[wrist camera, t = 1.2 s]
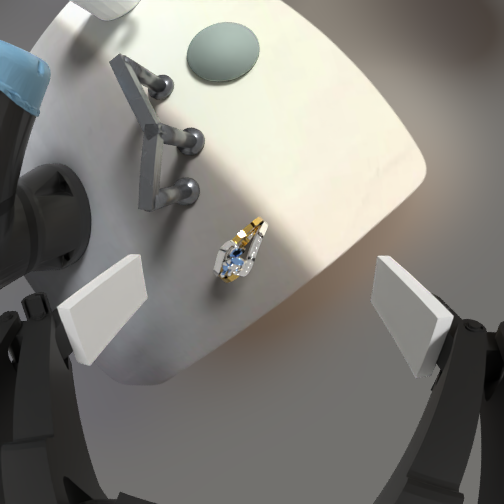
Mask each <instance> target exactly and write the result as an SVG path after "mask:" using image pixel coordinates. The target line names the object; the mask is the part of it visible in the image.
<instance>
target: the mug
mask: <svg viewBox="0 0 504 504" xmlns="http://www.w3.org/2000/svg"><path fill="white" fill-rule="evenodd" d="M70 1H72V2H73V3H75V4H77V5H78V6H80V7H82V8H83V9H85V10H87V11H88V12H90V13H91V14H93V15H94V16H96V17H98V18H99V19H101V20H105V21H108V20H114V19H116V18H118V17H121V16H123V15H124V14H126V13H127V12H129V11H130V10H131V9H132V8H134V7H135V6H136V5H137V4H138V2H139V1H140V0H70Z"/></svg>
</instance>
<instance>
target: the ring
mask: <svg viewBox="0 0 504 504" xmlns="http://www.w3.org/2000/svg"><path fill="white" fill-rule="evenodd" d="M267 227H268V224H267V223H266V222H265V221H263V219H262V218H261V217H258V218H257V219H255V220H254V221H252V222H251V223H250V224H249V225H247V226H246V227H245V228H244V229H243V230H242V231H241V232H240V233H238V234H237V235H236V236H235V237H234V238H233V239H232V240H231V241H227V242H226V243H224V244H223V245H222V247H221V248H220V250H219V252H218V255H217V259H216V263H215V267H214V270H213V273H214V274H215V275H216V276H217V277H218V276H219V275H220V279H222V280H223V281H224V282H226V283H228V282H231V281H233V280H235V279H236V278H238V277H239V276H240V277H244V276H246V275H247V274H248V273H249V272H250V270H251V268H252V266H253V263H254V260H255V257H256V254H257V252H258V249H259V246H260V244H261V241H262V239H263V237H264V234H265V232H266V230H267ZM254 235H255V236H254ZM253 236H254V238H253V241H252V243H251V246H250V249H249V252H248V255H247V258H246V260H244V259H243V258H241V257H239V256H240V255H241V254H242V253H244V252H245V250H246V248H243V247H244V246H245V245H246V244H247V243H248V242H249V241H250V239H251V238H252V237H253ZM232 247H233V248H232ZM230 248H232V249H231V250H230V251H229V249H230ZM228 251H229V253H228ZM227 253H228V254H227ZM241 265H242V268H241V269H239V268H240V266H241ZM229 269H230V270H229ZM228 270H229V272H228Z"/></svg>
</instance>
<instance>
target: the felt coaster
mask: <svg viewBox="0 0 504 504" xmlns="http://www.w3.org/2000/svg"><path fill="white" fill-rule="evenodd" d="M258 56H259V42H258V39H257V37H256V35H255V34H254V33H253V32H252V31H251V30H250V29H249V28H247V27H245V26H243V25H241V24H238V23H232V22H223V23H217V24H214V25H211V26H209V27H207V28H205V29H203V30H202V31H200V32H199V33H198V34H197V35H196V36H195V37H194V38H193V39H192V41H191V43H190V45H189V47H188V51H187V59H188V63H189V65H190V67H191V69H192V70H193V71H194V72H195V73H196V74H197V75H198V76H200V77H202V78H204V79H206V80H209V81H216V82H223V81H229V80H233V79H236V78H238V77H240V76H242V75H244V74H245V73H247V72H248V71H249V70H250V69H251V68H252V67H253V66H254V64H255V63H256V61H257V59H258Z"/></svg>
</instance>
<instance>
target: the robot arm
mask: <svg viewBox="0 0 504 504" xmlns="http://www.w3.org/2000/svg"><path fill="white" fill-rule="evenodd" d="M50 76H51V72H50V68H49V66H48V64H47V63H46V62H45V61H43V60H42V59H40V58H39V57H37V56H35V55H33V54H31V53H29V52H27V51H25V50H23V49H21V48H18V47H16V46H14V45H12V44H9V43H7V42H4V41H2V40H0V289H2V288H3V287H5V286H6V285H8V284H10V283H11V282H13V281H15V280H16V279H18V278H20V277H22V276H23V275H25V274H27V273H29V272H31V271H46V270H59V269H63V268H65V267H67V266H69V265H70V264H72V263H74V262H76V261H77V260H78V259H79V258H80V257H81V256H82V254H83V253H84V251H85V249H86V247H87V244H88V240H89V236H90V229H91V215H90V207H89V202H88V198H87V194H86V192H85V189H84V187H83V185H82V183H81V181H80V179H79V178H78V176H77V175H76V174H75V173H74V172H73V171H72V170H71V169H70V168H68V167H67V166H65V165H62V164H57V163H55V164H44V165H41V166H38V167H36V168H34V169H33V170H31V171H29V172H28V173H26V174H25V175H23V176H21V177H20V178H19V176H20V171H21V167H22V163H23V158H24V155H25V151H26V147H27V144H28V140H29V137H30V134H31V130H32V127H33V124H34V121H35V118H36V116H37V117H38V116H39V114H40V110H39V109H40V106H41V103H42V100H43V97H44V94H45V92H46V89H47V86H48V84H49V81H50ZM146 299H147V292H146V287H145V281H144V275H143V269H142V262H141V256H140V255H134V254H129V255H128V256H126V257H125V258H123V259H122V260H120V261H119V262H117V263H116V264H115V265H113V266H112V267H110V268H109V269H107V270H106V271H105V272H103V273H102V274H100V275H99V276H98V277H96V278H95V279H93V280H92V281H91V282H89V283H88V284H87V285H85V286H84V287H83V288H81V289H80V290H78V291H77V292H76V293H74V294H73V295H72V296H71V297H69V298H68V299H67V300H65V301H64V302H63V303H61V304H60V305H59V306H58V307H57V308H56V309H55V310H54V311H53V312H52V311H51V308H50V305H49V302H48V299H47V295H46V294H45V293H42V292H39V293H34V294H31V295H29V296H27V297H25V298H24V299H23V300H22V302H21V303H22V306H23V309H24V312H25V315H26V318H27V321H21V320H20V318H19V315H18V312H16V311H10V312H9V311H7V312H5V313H3V314H2V315H1V316H0V504H156V503H153V502H149V501H146V500H143V499H139V498H136V497H133V496H130V495H127V494H125V493H122V492H120V493H119V495H118V498H117V499H108V498H107V496H106V495H105V494H104V492H103V491H102V489H101V487H100V486H99V483H98V481H97V478H96V475H95V472H94V469H93V466H92V463H91V460H90V456H89V453H88V449H87V446H86V442H85V438H84V434H83V429H82V425H81V421H80V416H79V411H78V406H77V400H76V394H75V387H74V380H73V373H72V364H71V361H70V358H69V355H70V354H71V353H72V352H73V353H74V355H75V358H76V360H77V362H79V363H82V364H86V365H89V366H90V365H91V364H92V363H93V362H94V360H95V359H96V358H97V357H98V355H99V354H100V353H101V352H102V351H103V349H104V348H105V347H106V346H107V345H108V343H109V342H110V341H111V340H112V339H113V337H114V336H115V335H116V334H117V333H118V331H119V330H120V329H121V328H122V327H123V326H124V324H125V323H126V322H127V321H128V320H129V319H130V317H131V316H132V315H133V314H134V313H135V312H136V311H137V309H138V308H139V307H140V306H141V305H142V304H143V303H144V301H145V300H146ZM371 303H372V305H373V306H374V308H375V309H376V311H377V313H378V314H379V316H380V317H381V319H382V321H383V322H384V324H385V325H386V327H387V329H388V331H389V332H390V334H391V335H392V337H393V339H394V341H395V342H396V344H397V346H398V347H399V349H400V351H401V353H402V354H403V356H404V358H405V360H406V361H407V363H408V365H409V367H410V369H411V370H412V372H413V374H414V376H415V378H420V377H426V376H430V375H432V372H433V370H434V368H435V366H436V363H437V365H438V366H439V368H440V369H441V370H440V372H439V374H438V376H437V378H436V380H435V382H434V385H433V386H432V389H431V390H432V393H431V396H430V398H429V401H428V404H427V406H426V408H425V411H424V413H423V416H422V418H421V420H420V422H419V424H418V427H417V429H416V431H415V433H414V435H413V437H412V439H411V442H410V443H409V445H408V447H407V449H406V451H405V453H404V455H403V457H402V459H401V460H400V462H399V464H398V466H397V468H396V469H395V471H394V473H393V474H392V476H391V478H390V479H389V481H388V482H387V484H386V486H385V487H384V488H383V490H382V492H381V493H380V495H379V496H378V497H377V499H376V500H375V502H374V503H373V504H463V501H464V495H463V494H462V493H459V486H460V483H461V480H462V477H463V475H464V472H465V468H466V466H467V462H468V459H469V456H470V452H471V449H472V445H473V441H474V436H475V433H476V428H477V424H478V419H479V413H480V419H481V449H482V450H481V477H480V490H479V498H478V504H504V321H503V322H501V323H500V325H499V327H498V330H497V332H487V331H486V328H485V327H484V326H483V325H482V324H481V323H479V322H478V321H475V320H471V319H463V320H462V319H461V318H460V317H459V316H458V315H457V314H456V313H455V312H454V311H453V310H452V309H451V308H450V307H449V306H448V305H447V304H445V302H444V301H443V300H442V299H441V298H440V297H438V296H436V295H434V294H432V293H430V292H429V291H428V290H427V289H426V288H424V287H423V286H422V285H421V284H420V283H419V282H418V281H417V280H416V279H415V278H414V277H413V276H412V275H410V274H409V273H408V272H407V271H406V270H405V269H404V268H403V267H402V266H400V265H399V264H398V263H397V262H396V261H395V260H394V259H393V258H391V257H390V256H377V263H376V270H375V277H374V283H373V290H372V296H371ZM8 350H9V352H10V354H11V356H12V358H13V361H12V363H11V361H10V359H9V356H8Z"/></svg>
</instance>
